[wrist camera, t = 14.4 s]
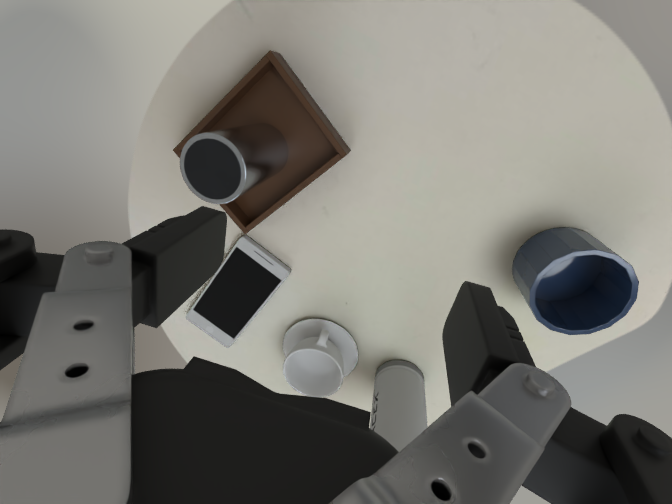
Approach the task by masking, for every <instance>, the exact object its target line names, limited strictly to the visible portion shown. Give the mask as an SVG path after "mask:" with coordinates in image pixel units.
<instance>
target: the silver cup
mask: <svg viewBox="0 0 672 504" xmlns="http://www.w3.org/2000/svg"><path fill="white" fill-rule="evenodd" d="M288 154H289V152H288V145H287V142H286V139H285V138H284V136H283V135H282V133H281V132H280V131H279V130H278V129H277V128H275V127H274V126H272V125H270V124H267V123H255V124H250V125H244V126H239V127H233V128H228V129H222V130H216V131H211V132H205V133H201V134H197V135H195V136H193V137H192V138H190V139H189V140H188V141H187V143H186V144H185V145H184V147H183V149H182V152H181V156H180V169H181V173H182V176H183V179H184V181H185V183H186V184H187V186H188V187H189V189H190V190H191V191H192V192H193V193H194V194H195V195H196V196H198V197H199V198H201V199H202V200H204V201H206V202H209V203H213V204H225V203H229V202H231V201H233V200H235V199H236V198H238V197H240V196H241V195H243V194H245V193H246V192H248V191H250V190H251V189H253V188H254V187H256V186H258V185H259V184H261V183H263V182H264V181H266V180H268V179H269V178H271V177H273V176H274V175H276V174H277V173H279V172H280V171H281V170H282V169H283V168H284V167H285V165H286V163H287V160H288Z"/></svg>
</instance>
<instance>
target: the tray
mask: <svg viewBox="0 0 672 504" xmlns="http://www.w3.org/2000/svg"><path fill="white" fill-rule="evenodd" d="M255 123H267V124H270V125H272V126H274V127H275V128H277V129H278V130H279V131H280V132H281V133H282V135H283V136H284V138H285V139H286V142H287V145H288V152H289V154H288V160H287V163H286V165H285V167H284V168H283V169H282V170H281V171H280V172H279V173H277V174H276V175H274V176H273V177H271V178H269V179H268V180H266V181H264V182H263V183H261V184H259V185H258V186H256V187H254V188H253V189H251V190H250V191H248V192H246V193H245V194H243V195H241V196H240V197H238V198H236V199H235V200H233V201H231V202H229V203H225V204H220V206H221V207H222V208H223V209H224V210H225V211H226V213H227V214H228V215H229V216H230V217H231V218H232V220H233V221H234V222H235V223H236V224H237V225H238V227H239V228H240V229H241V230H242V231H243V232H244V234H246V233H248V232H249V231H250V230H251V229H253V228H254V227H255V226H256V225H258V224H259V223H260V222H262V221H263V220H264V219H265V218H267V217H268V216H269V215H271V214H272V213H273V212H274V211H276V210H277V209H278V208H279V207H281V206H282V205H283V204H285V203H286V202H287V201H288V200H290V199H291V198H292V197H293V196H295V195H296V194H297V193H299V192H300V191H301V190H302V189H304V188H305V187H306V186H308V185H309V184H310V183H311V182H313V181H314V180H315V179H316V178H318V177H319V176H320V175H322V174H323V173H324V172H325V171H327V170H328V169H329V168H331V167H332V166H333V165H334V164H336V163H337V162H338V161H339V160H341V159H342V158H343V157H345V156H346V155H347V154H348V153H349V152H350V151H351V150H350V149H349V147H348V146H347V145H346V143H345V142H344V140H343V139H342V138H341V136H340V135H339V134H338V132H337V131H336V129H335V128H334V127H333V125H332V124H331V123H330V121H329V120H328V119H327V117H326V116H325V114H324V113H323V112H322V110H321V109H320V108H319V106H318V105H317V103H316V102H315V101H314V99H313V98H312V97H311V95H310V94H309V92H308V91H307V90H306V88H305V87H304V86H303V84H302V83H301V82H300V80H299V79H298V77H297V76H296V75H295V73H294V72H293V71H292V69H291V68H290V66H289V65H288V64H287V62H286V61H285V60H284V58H283V57H282V56H281V54H279V53H277V52H274V51H271V50H270V51H269V52H268V53H267V54H266V55H265V56H264V57H263V58H262V59H261V60H260V61H259V62H258V63H257V64H256V65H255V66H254V67H253V68H252V70H251V71H250V72H249V73H248V74H247V75H246V76H245V77H244V78H243V79H242V80H241V81H240V82H239V83H238V84H237V85H236V86H235V87H234V88H233V89H232V90H231V91H230V92H229V93H228V94H227V95H226V96H225V97H224V98H223V99H222V100H221V101H220V102H219V103H218V104H217V105H216V106H215V107H214V108H213V109H212V110H211V111H210V112H209V113H208V114H207V116H206V117H205V118H204V119H203V120H202V121H201V122H200V123H199V124H198V125H197V126H196V127H195V128H194V129H193V130H192V131H191V132H190V133H189V134H188V135H187V136H186V137H185V138H184V139H183V140H182V141H181V142H180V143H179V144H178V145H177V147H175V148H174V149H173V151H174V152H175V153H176V154H177V156H178V157H179V158H180V156H181V152H182V149H183V147H184V145H185V144H186V143H187V141H188V140H189V139H190V138H192V137H193V136H195V135H197V134H201V133H205V132H211V131H216V130H222V129H228V128H233V127H239V126H244V125H250V124H255Z"/></svg>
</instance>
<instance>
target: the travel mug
mask: <svg viewBox="0 0 672 504" xmlns="http://www.w3.org/2000/svg"><path fill="white" fill-rule="evenodd" d="M426 428H427V414H426V400H425V386H424V377H423V374H422V372H421V371H420V370H419V368H418V367H416V366H415V365H414V364H412V363H410V362H407V361H402V360H393V361H389V362H386V363H384V364H383V365H381V366H380V367H379V368H378V370H377V372H376V375H375V385H374V394H373V403H372V413H371V423H370V429H371V430H373V431H375V432H376V433H378V434H379V435H380V436H382V437H383V438H384V439H386V440H387V441H388V442H389V443H390V444H391V445H392V446H394V447H395V448H396V449H397V451H398V452H400V451H401V450H402V449H403V448H405V447H406V446H407V445H408V444H409V443H410V442H411V441H413V440H414V439H415V438H416V437H417V436H418V435H420V434H421V433H422V432H423V431H424V430H425V429H426Z"/></svg>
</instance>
